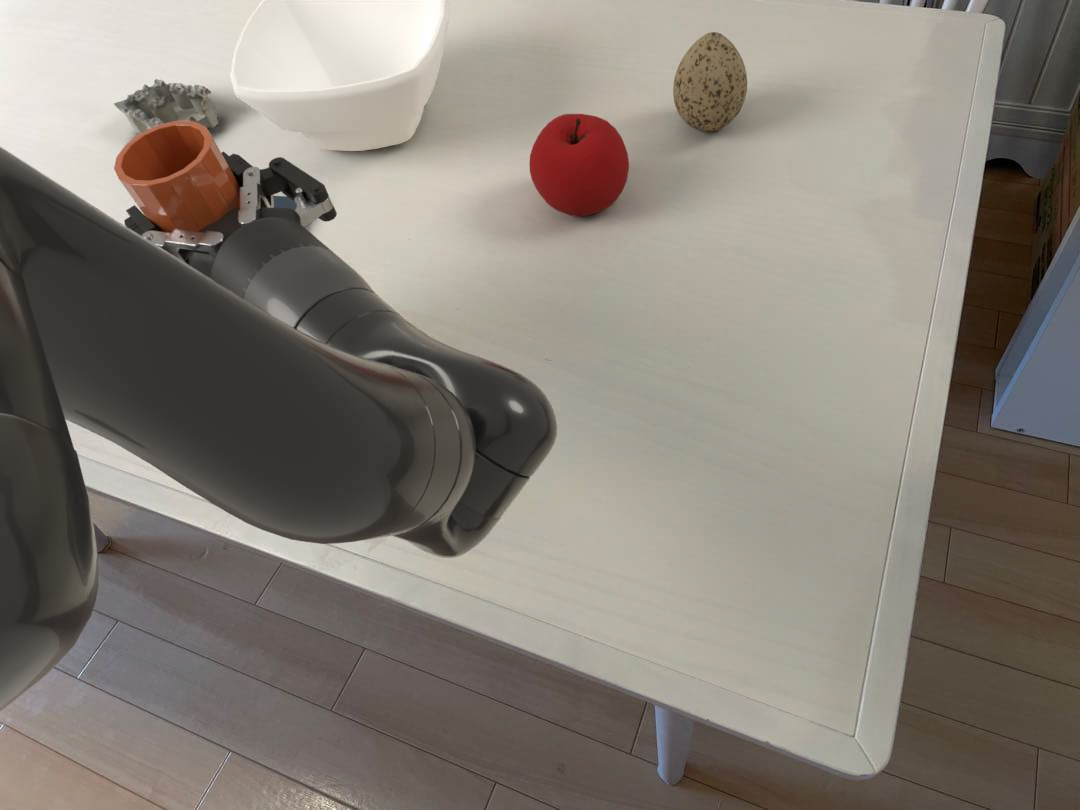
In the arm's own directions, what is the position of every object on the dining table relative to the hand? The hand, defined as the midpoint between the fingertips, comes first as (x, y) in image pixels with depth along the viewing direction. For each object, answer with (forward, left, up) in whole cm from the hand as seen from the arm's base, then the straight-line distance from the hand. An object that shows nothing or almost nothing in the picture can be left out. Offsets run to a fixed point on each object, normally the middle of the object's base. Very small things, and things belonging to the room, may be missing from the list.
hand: (181, 190), depth 58 cm
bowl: (+31, +1, -18) cm, 36 cm away
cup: (-1, -2, -6) cm, 7 cm away
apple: (+20, -25, -18) cm, 37 cm away
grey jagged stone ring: (+30, +26, -18) cm, 44 cm away
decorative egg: (+32, -36, -18) cm, 51 cm away
